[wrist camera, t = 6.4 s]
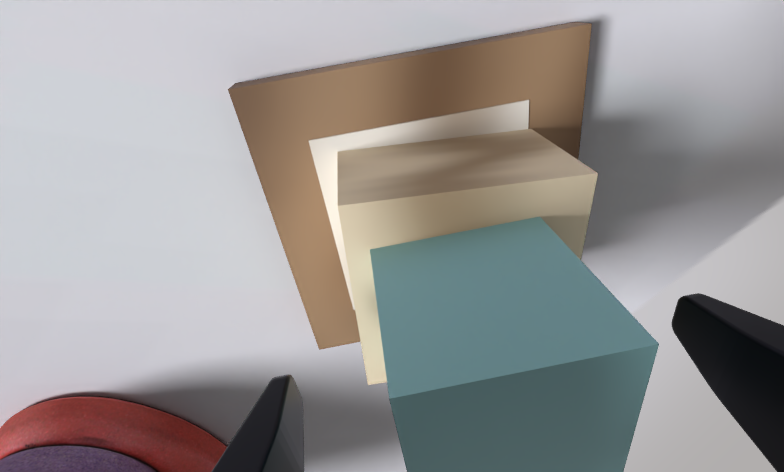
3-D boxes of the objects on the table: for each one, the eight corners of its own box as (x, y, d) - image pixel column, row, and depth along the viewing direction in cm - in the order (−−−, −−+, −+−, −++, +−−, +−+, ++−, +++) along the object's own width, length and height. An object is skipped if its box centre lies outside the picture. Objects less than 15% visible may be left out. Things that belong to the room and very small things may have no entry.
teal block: (539, 216, 10) (658, 343, 7) (534, 338, 13) (619, 486, 9) (369, 249, 10) (389, 398, 6) (395, 366, 13) (420, 527, 9)
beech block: (531, 128, 13) (598, 173, 10) (515, 282, 17) (561, 355, 13) (337, 151, 13) (337, 205, 10) (361, 304, 16) (367, 384, 13)
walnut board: (574, 22, 13) (592, 23, 12) (553, 287, 19) (564, 302, 18) (235, 83, 13) (227, 89, 12) (320, 333, 18) (319, 350, 17)
